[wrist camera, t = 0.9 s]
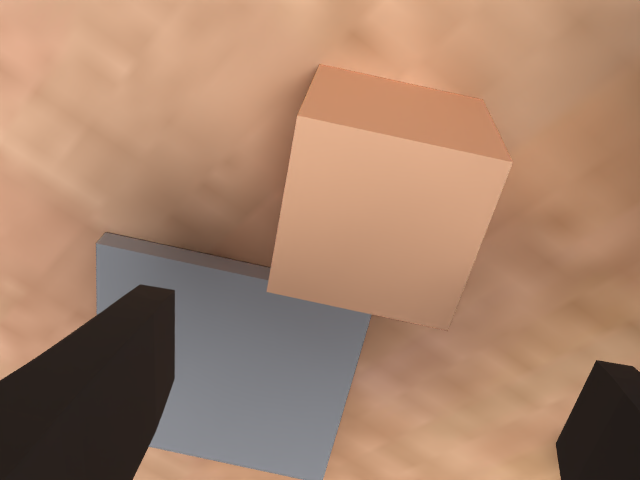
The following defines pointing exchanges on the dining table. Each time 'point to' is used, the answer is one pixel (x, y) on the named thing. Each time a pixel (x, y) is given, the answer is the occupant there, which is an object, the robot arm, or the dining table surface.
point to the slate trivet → (242, 358)
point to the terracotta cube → (386, 197)
